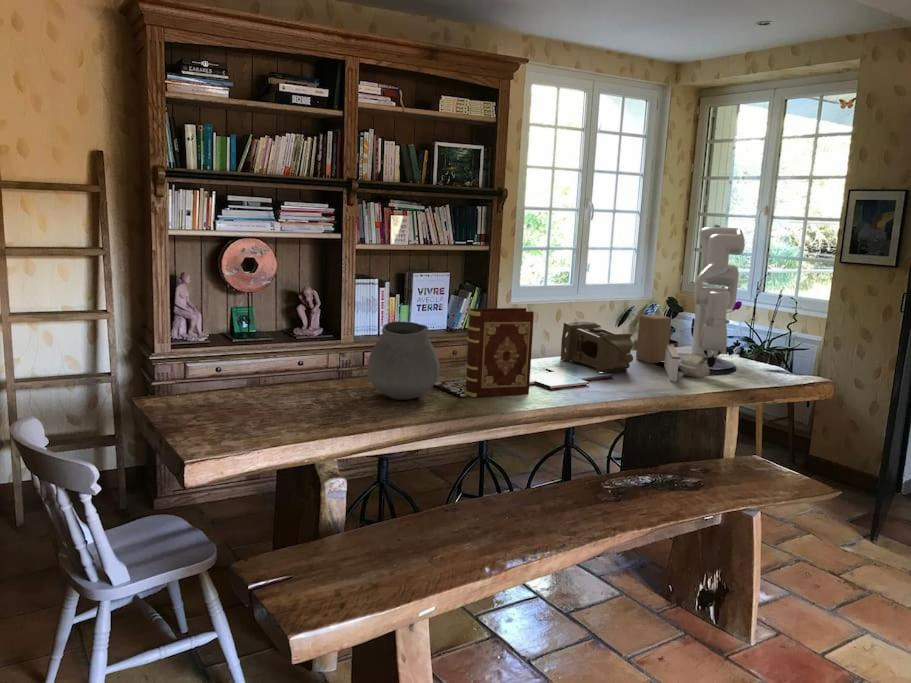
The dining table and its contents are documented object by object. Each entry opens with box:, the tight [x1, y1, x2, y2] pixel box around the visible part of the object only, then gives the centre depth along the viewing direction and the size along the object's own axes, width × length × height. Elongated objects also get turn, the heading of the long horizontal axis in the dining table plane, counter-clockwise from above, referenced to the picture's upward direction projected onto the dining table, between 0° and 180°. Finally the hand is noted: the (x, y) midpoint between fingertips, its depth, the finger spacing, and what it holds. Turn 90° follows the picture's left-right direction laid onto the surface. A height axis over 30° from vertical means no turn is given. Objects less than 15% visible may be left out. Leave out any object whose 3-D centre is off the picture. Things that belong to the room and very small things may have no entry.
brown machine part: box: [560, 320, 634, 373], centre depth 306 cm, size 35×18×18 cm, turn 29°
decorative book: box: [464, 307, 535, 398], centre depth 259 cm, size 22×8×30 cm, turn 106°
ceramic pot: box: [367, 320, 441, 401], centre depth 250 cm, size 24×24×25 cm
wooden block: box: [635, 313, 672, 364], centre depth 323 cm, size 10×10×20 cm
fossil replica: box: [678, 354, 711, 379], centre depth 299 cm, size 12×8×10 cm
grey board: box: [663, 343, 681, 382], centre depth 301 cm, size 27×3×10 cm, turn 169°
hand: (710, 366), depth 299 cm, fingers closed
